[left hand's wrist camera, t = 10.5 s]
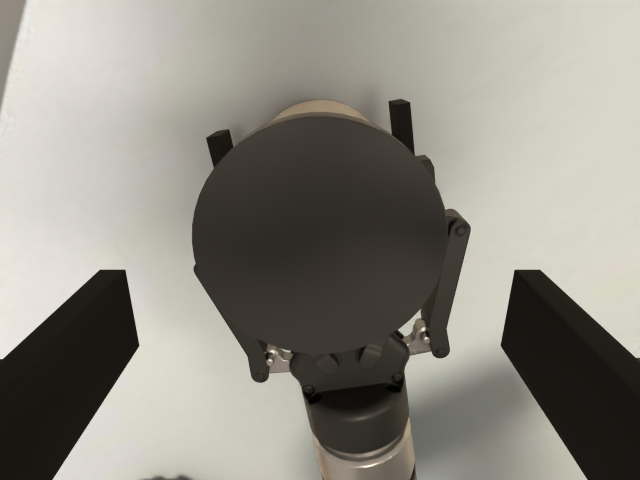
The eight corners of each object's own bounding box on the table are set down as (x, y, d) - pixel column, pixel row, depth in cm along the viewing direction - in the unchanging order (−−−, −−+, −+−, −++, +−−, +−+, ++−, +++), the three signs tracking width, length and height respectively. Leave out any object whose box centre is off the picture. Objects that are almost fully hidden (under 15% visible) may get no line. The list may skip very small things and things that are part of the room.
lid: (455, 119, 18) (469, 124, 16) (419, 335, 22) (427, 359, 20) (197, 104, 18) (184, 108, 16) (208, 325, 22) (198, 348, 20)
